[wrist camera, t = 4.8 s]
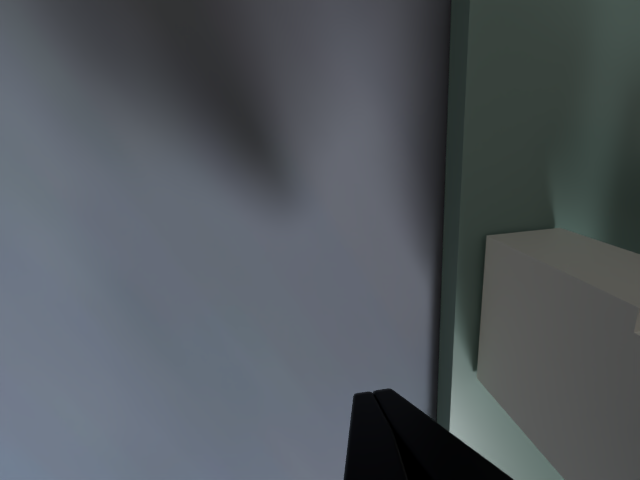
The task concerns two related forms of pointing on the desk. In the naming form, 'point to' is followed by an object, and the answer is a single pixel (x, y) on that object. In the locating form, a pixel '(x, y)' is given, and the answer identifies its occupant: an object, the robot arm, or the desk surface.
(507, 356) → the white block
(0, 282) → the desk surface
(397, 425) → the robot arm
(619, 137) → the board
